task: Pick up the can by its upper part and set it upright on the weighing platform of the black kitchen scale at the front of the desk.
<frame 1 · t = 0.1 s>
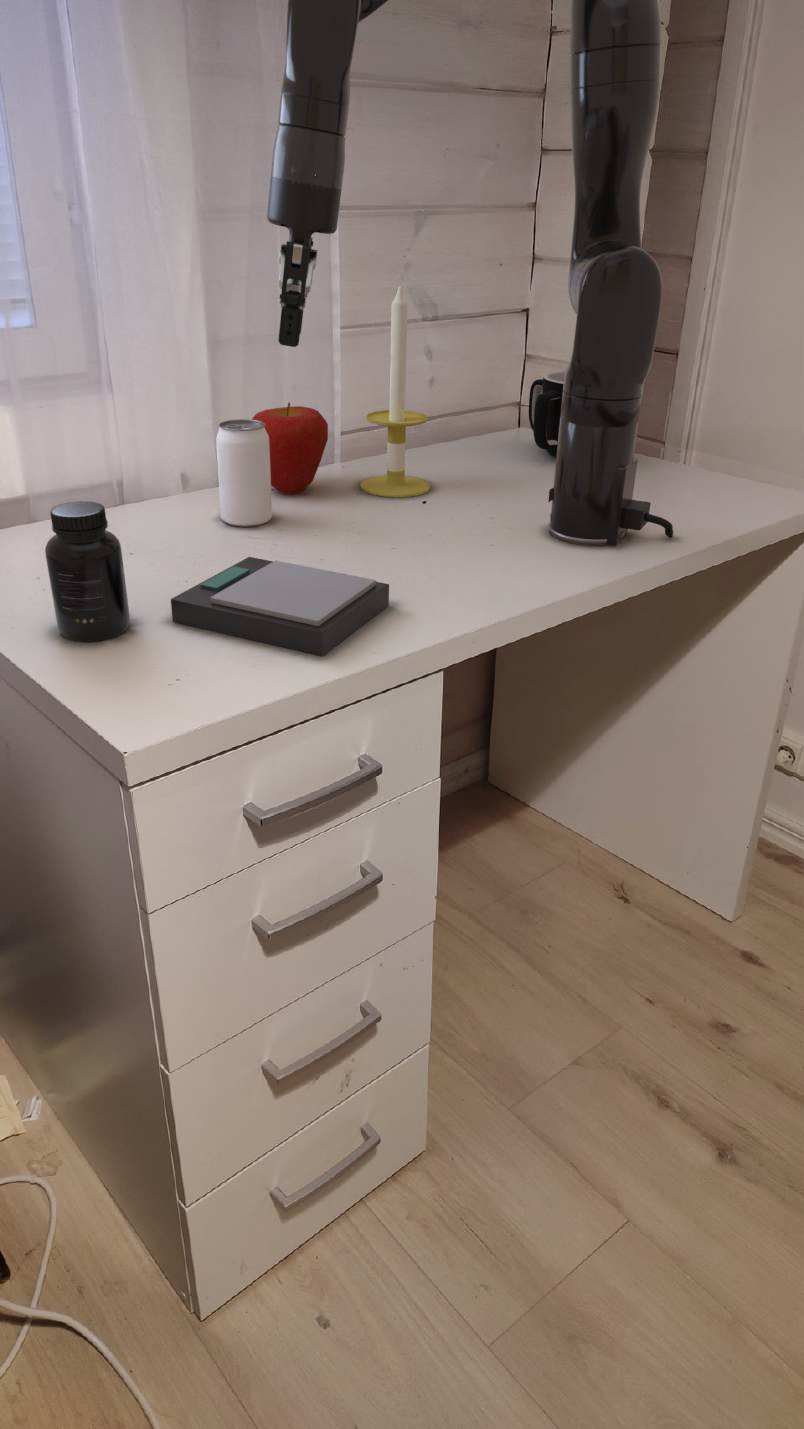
hand: (289, 339, 114), 23 cm above the table, tool pointing down, fingers open, 8 cm apart
can: (246, 521, 129), on the table
scale: (283, 613, 102), on the table
supplement bottle: (94, 630, 98), on the table
mug: (574, 455, 163), on the table
candle: (395, 488, 143), on the table
apple: (289, 492, 141), on the table
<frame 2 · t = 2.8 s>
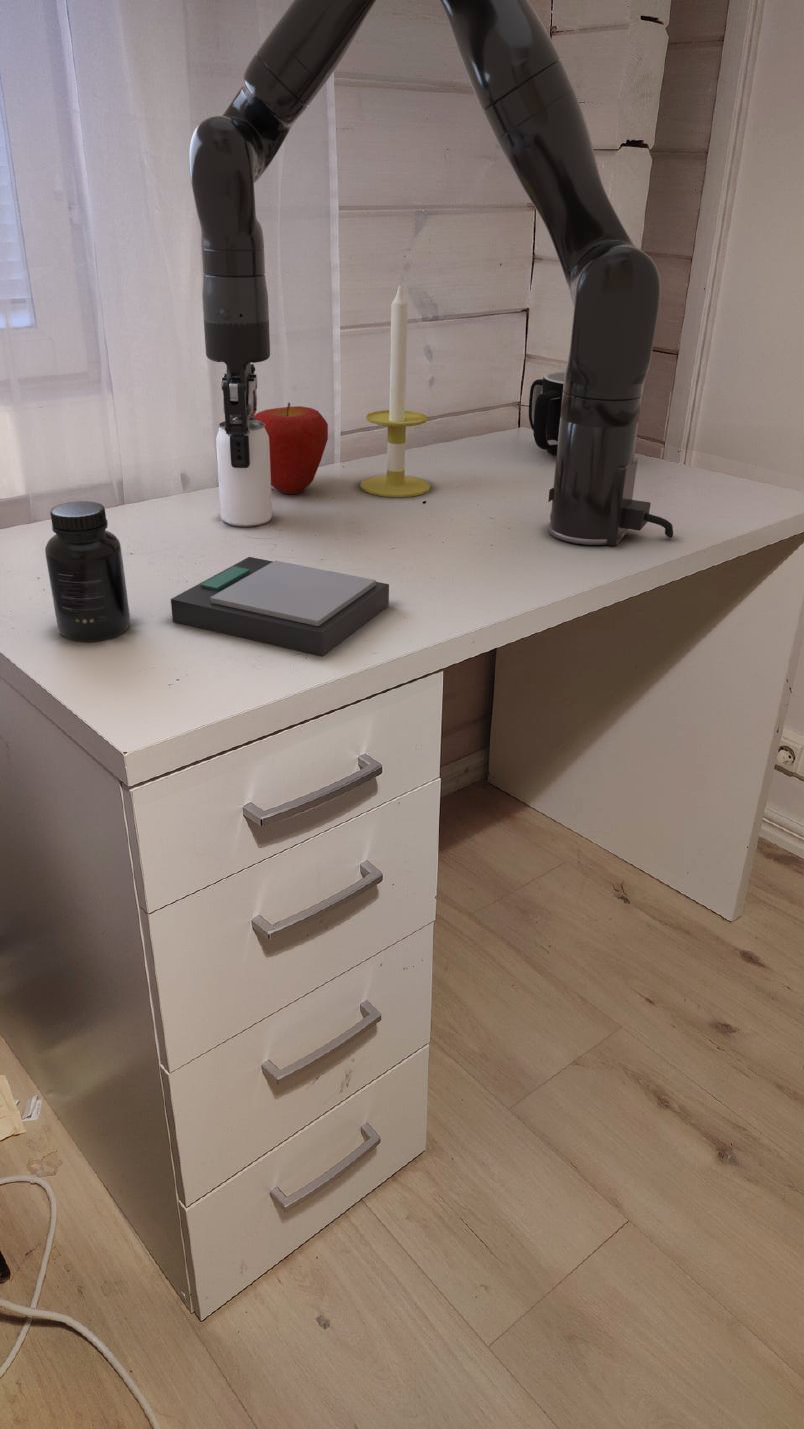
hand: (243, 459, 125), 8 cm above the table, tool pointing down, fingers closed on can, 6 cm apart
can: (246, 521, 129), on the table, touching gripper
everything else where it was.
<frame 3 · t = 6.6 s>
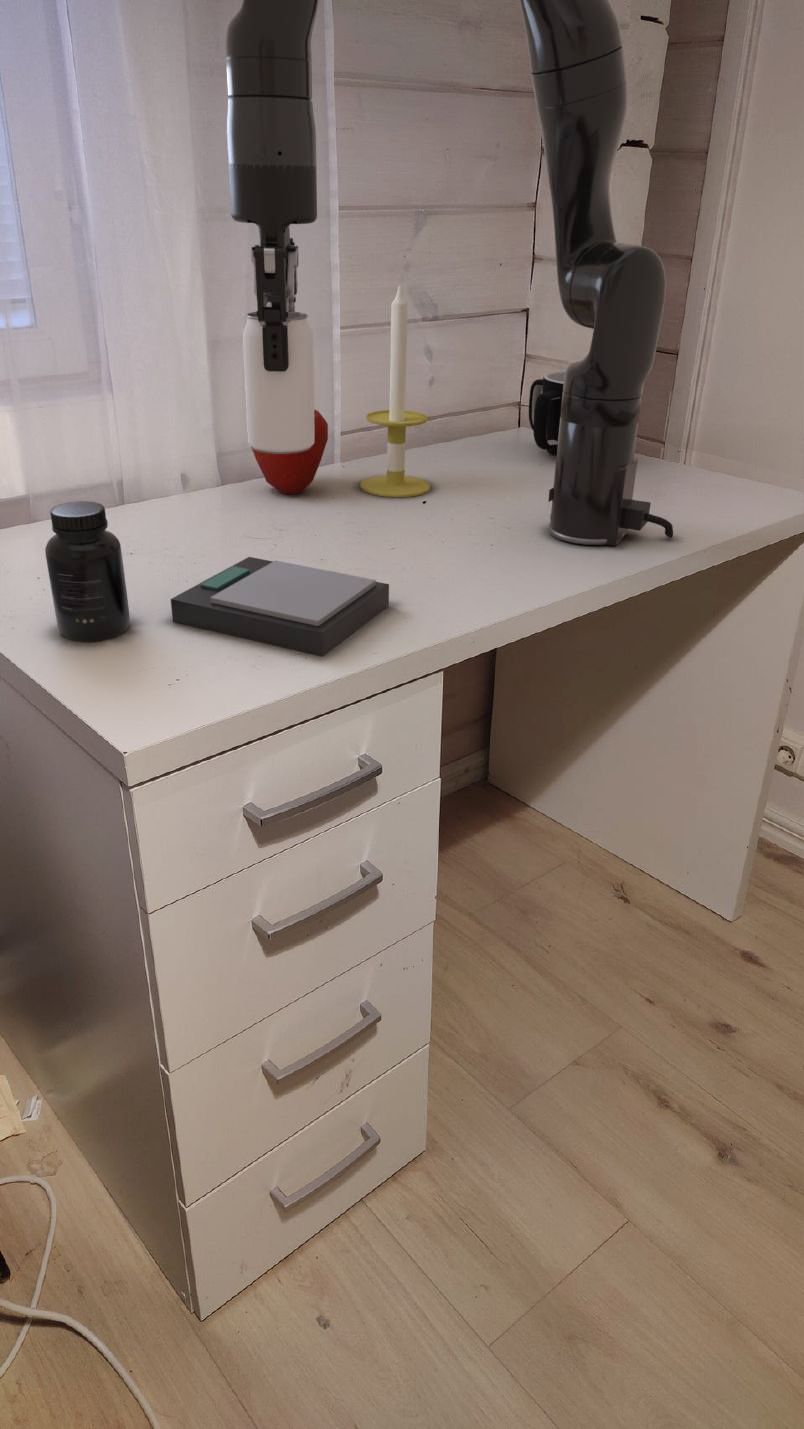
hand: (279, 363, 94), 24 cm above the table, tool pointing down, fingers closed on can, 6 cm apart
can: (281, 448, 98), point 16 cm above the table, touching gripper
everything else where it was.
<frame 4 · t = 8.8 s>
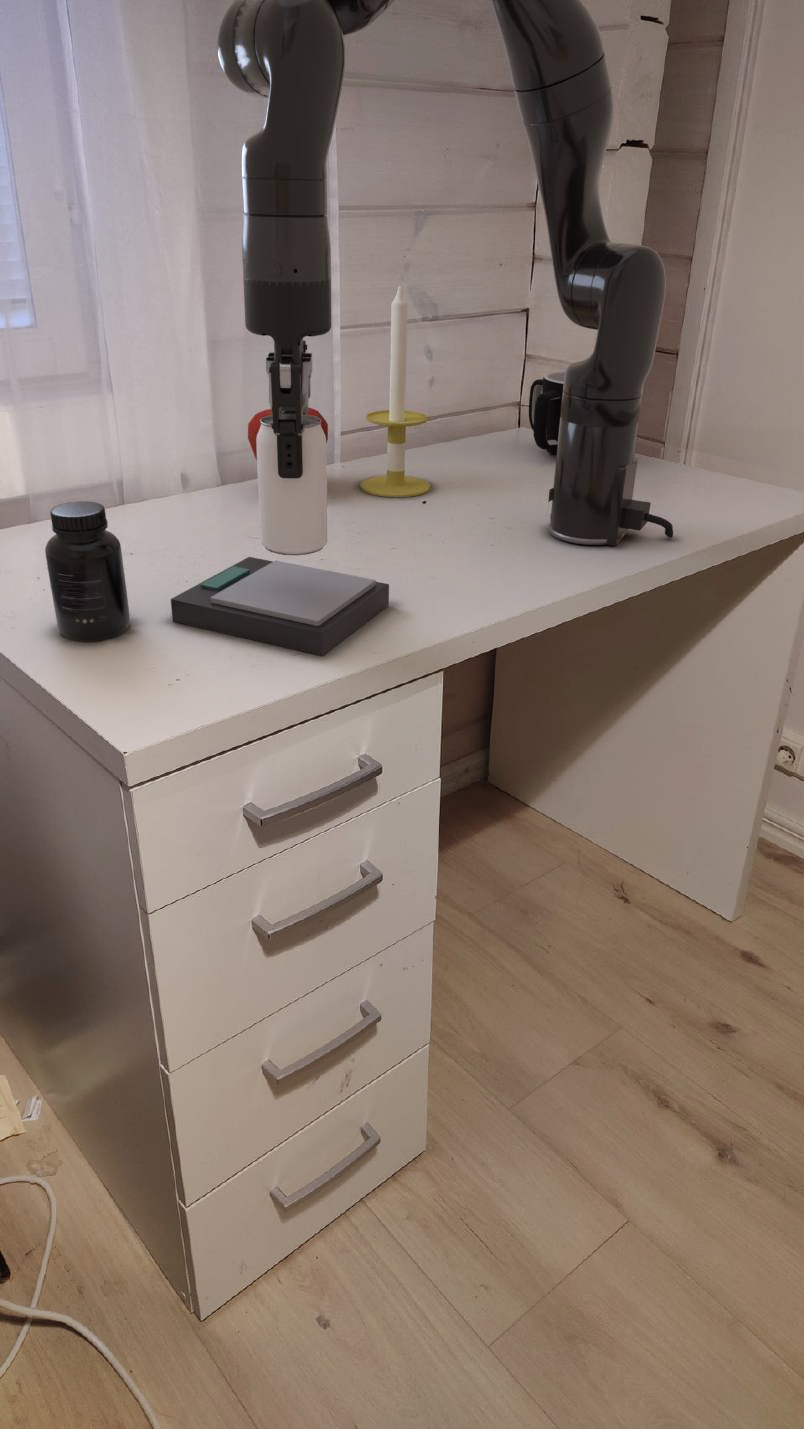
hand: (292, 466, 94), 15 cm above the table, tool pointing down, fingers closed on can, 6 cm apart
can: (294, 547, 98), point 7 cm above the table, touching gripper
everything else where it was.
when the fingers open (11 cm above the table, at t = 10.5 s): can stays where it is, resting on scale.
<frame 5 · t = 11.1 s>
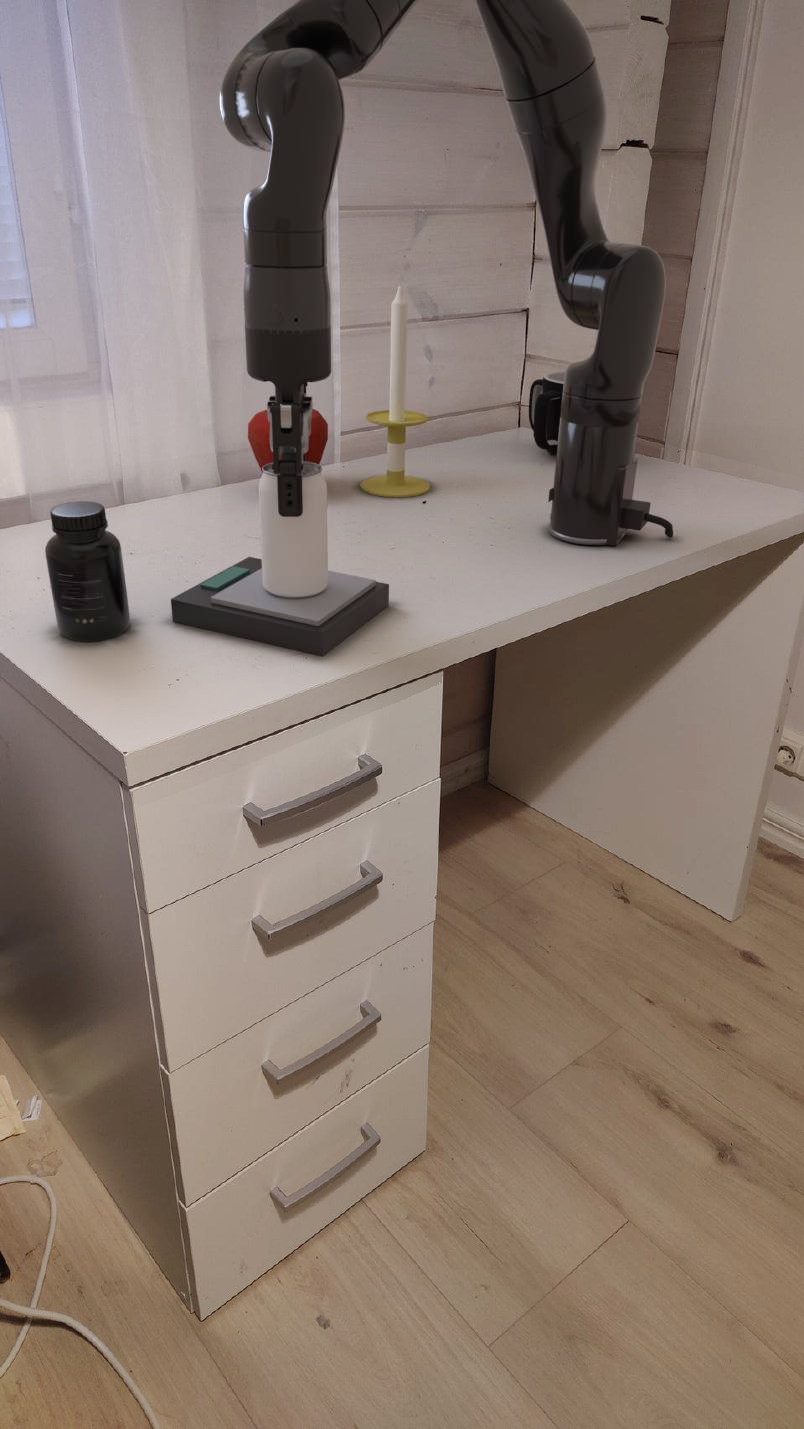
hand: (293, 502, 96), 12 cm above the table, tool pointing down, fingers open, 8 cm apart
can: (295, 589, 100), point 3 cm above the table, touching scale
everything else where it was.
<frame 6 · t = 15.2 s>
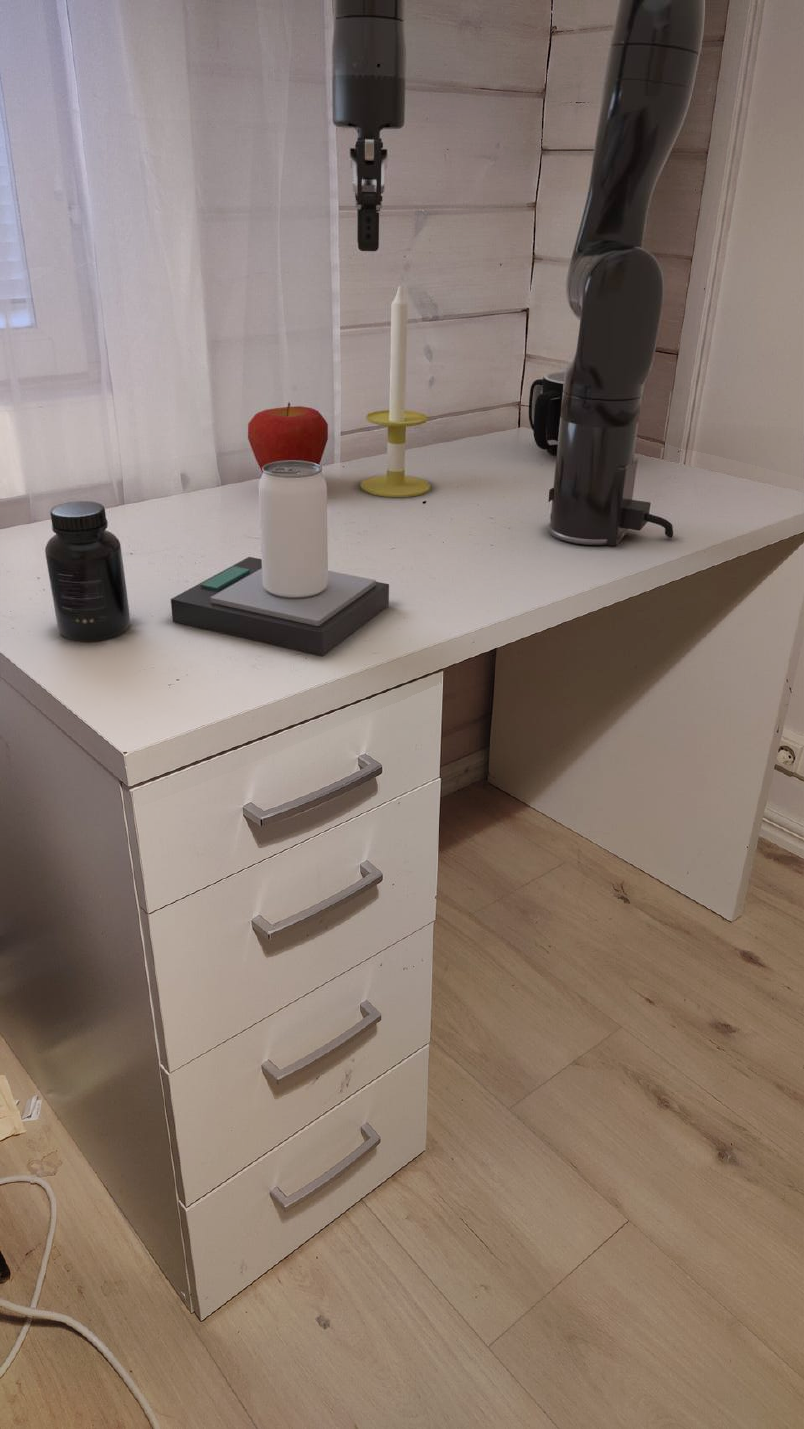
hand: (367, 248, 111), 32 cm above the table, tool pointing down, fingers open, 8 cm apart
nothing on the table moved.
at the end: can inside the target area on the scale (0.1 cm from its centre), point 2.8 cm above the scale's base; can tilted 0°; the gripper is holding nothing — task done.
